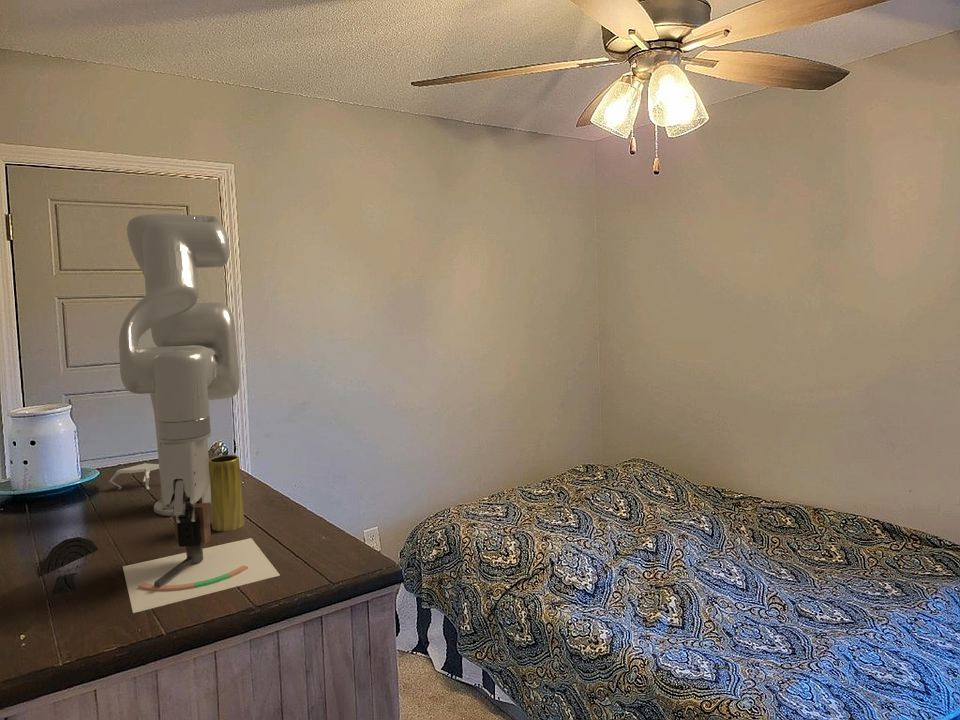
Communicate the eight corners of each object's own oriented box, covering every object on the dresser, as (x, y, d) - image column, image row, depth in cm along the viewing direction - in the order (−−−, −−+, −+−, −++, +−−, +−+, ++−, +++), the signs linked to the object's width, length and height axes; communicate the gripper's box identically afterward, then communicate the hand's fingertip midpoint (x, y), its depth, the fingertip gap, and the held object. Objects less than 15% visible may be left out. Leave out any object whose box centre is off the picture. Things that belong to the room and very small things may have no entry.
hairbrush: (25, 606, 90) (43, 537, 111) (28, 631, 90) (46, 557, 112) (95, 591, 93) (99, 528, 115) (97, 615, 94) (101, 547, 116)
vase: (209, 541, 117) (203, 464, 116) (213, 529, 123) (208, 455, 122) (245, 537, 119) (240, 461, 117) (247, 525, 125) (242, 452, 123)
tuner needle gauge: (184, 556, 106) (180, 502, 105) (213, 557, 106) (209, 502, 105) (141, 588, 95) (136, 528, 94) (173, 589, 95) (168, 528, 94)
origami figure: (163, 478, 158) (161, 458, 157) (172, 485, 152) (171, 465, 151) (107, 488, 151) (105, 468, 150) (115, 497, 144) (112, 475, 144)
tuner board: (123, 575, 104) (122, 564, 104) (251, 546, 115) (251, 535, 115) (134, 623, 89) (132, 610, 89) (280, 584, 100) (280, 572, 99)
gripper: (175, 419, 110) (183, 524, 112) (140, 442, 94) (151, 564, 96) (221, 417, 111) (228, 521, 113) (195, 439, 95) (204, 559, 97)
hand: (193, 540), depth 105 cm, fingers closed on tuner needle gauge, 2 cm apart
